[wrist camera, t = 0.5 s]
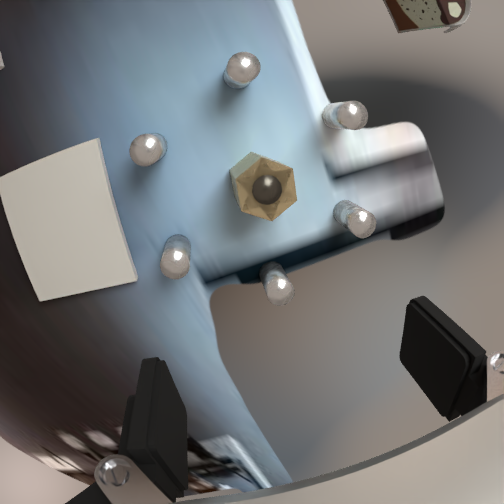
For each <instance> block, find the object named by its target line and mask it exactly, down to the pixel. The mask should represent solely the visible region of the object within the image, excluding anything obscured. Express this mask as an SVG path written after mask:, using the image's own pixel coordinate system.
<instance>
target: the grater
mask: <svg viewBox="0 0 504 504" xmlns="http://www.w3.org/2000/svg"><path fill="white" fill-rule="evenodd" d="M2 68H4V64H3V60H2V56H1V52H0V70H1V69H2Z"/></svg>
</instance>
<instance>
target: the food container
mask: <svg viewBox="0 0 504 504" xmlns="http://www.w3.org/2000/svg"><path fill="white" fill-rule="evenodd" d="M383 1H384V3H385V5H386V7H387V9H388V12H389V14H390V16H391V18H392V20H393V22H394V25H395V27H396V29H397V31H398V33H402V32H409V31H415V30H423V29H431V28H440V27H450V28H449V29H448V30H446V31H444V33H447V32H450V31H452V30H454V29H456V28H458V27H460V26H461V25H462V24H463V23H464V22H465V21H466V20H467V19H468V17H469V15H470V12H471V0H383Z"/></svg>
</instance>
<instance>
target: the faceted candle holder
mask: <svg viewBox="0 0 504 504" xmlns="http://www.w3.org/2000/svg"><path fill="white" fill-rule="evenodd" d="M230 175H231V180H232V186H233V191H234V196H235V199H236V201H237V203H238V205H239V207H240V209H241V211H242V212H245V213H248V214H251V215H254V216H257V217H260V218H263V219H267V220H270V221H273V220H274V219H275V218H277V217H278V216H279V215H280V214H281V213H283V212H284V211H285V210H286V209H287V208H289V207H290V206H291V205H292V204H293V203H295V202H296V201H297V196H296V189H295V181H294V174H293V168H290V167H288V166H286V165H284V164H282V163H280V162H278V161H275V160H273V159H270V158H267V157H264V156H262V155H259V154H256V153H253V152H250V153H249V154H248V155H247V156H245V157H244V158H243V159H242V160H241V161H239V162H238V163H237V164H236V165H235V166H234V167H232V168H231V169H230Z"/></svg>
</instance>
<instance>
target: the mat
mask: <svg viewBox="0 0 504 504" xmlns="http://www.w3.org/2000/svg"><path fill="white" fill-rule="evenodd" d="M0 195H1V199H2V202H3V206H4V209H5V213H6V216H7V219H8V222H9V225H10V228H11V231H12V234H13V237H14V240H15V243H16V245H17V248H18V251H19V254H20V256H21V259H22V261H23V264H24V266H25V269H26V271H27V274H28V276H29V278H30V281H31V283H32V285H33V288H34V290H35V292H36V294H37V296H38V299H39V301H45V300H49V299H54V298H59V297H64V296H68V295H73V294H78V293H83V292H87V291H92V290H97V289H102V288H106V287H111V286H116V285H120V284H125V283H130V282H134V281H137V279H138V275H137V272H136V269H135V266H134V263H133V260H132V257H131V254H130V251H129V248H128V245H127V241H126V238H125V235H124V232H123V228H122V225H121V222H120V218H119V215H118V211H117V208H116V204H115V200H114V197H113V193H112V189H111V185H110V181H109V178H108V173H107V169H106V165H105V161H104V157H103V152H102V148H101V143H100V139H99V138H96V139H93V140H90V141H87V142H85V143H82V144H79V145H76V146H73V147H71V148H68V149H65V150H63V151H60V152H57V153H55V154H52V155H50V156H47V157H45V158H42V159H40V160H37V161H35V162H33V163H30V164H28V165H26V166H23V167H21V168H19V169H17V170H15V171H12V172H10V173H8V174H6V175H4V176H2V177H0Z"/></svg>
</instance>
